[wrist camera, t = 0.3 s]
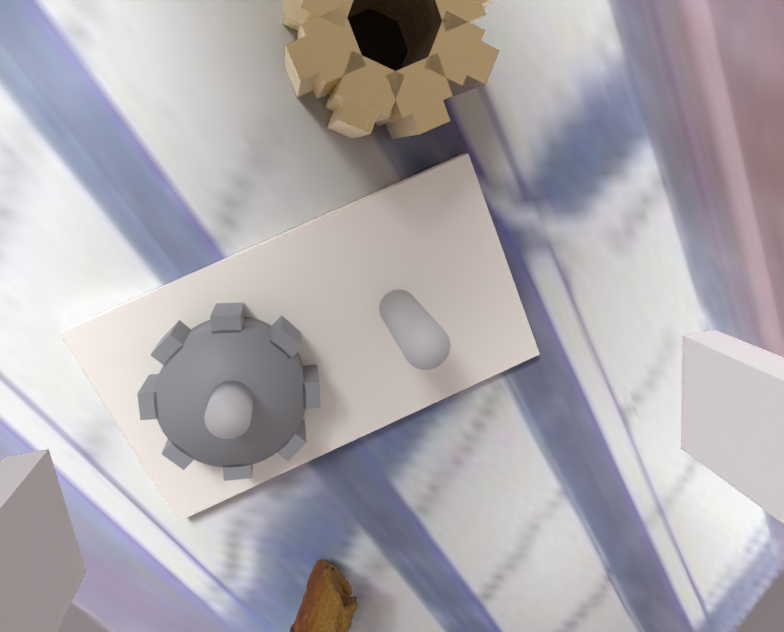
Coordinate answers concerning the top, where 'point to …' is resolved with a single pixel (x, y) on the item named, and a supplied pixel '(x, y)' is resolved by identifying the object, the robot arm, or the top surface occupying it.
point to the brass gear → (377, 82)
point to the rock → (325, 602)
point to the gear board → (308, 338)
